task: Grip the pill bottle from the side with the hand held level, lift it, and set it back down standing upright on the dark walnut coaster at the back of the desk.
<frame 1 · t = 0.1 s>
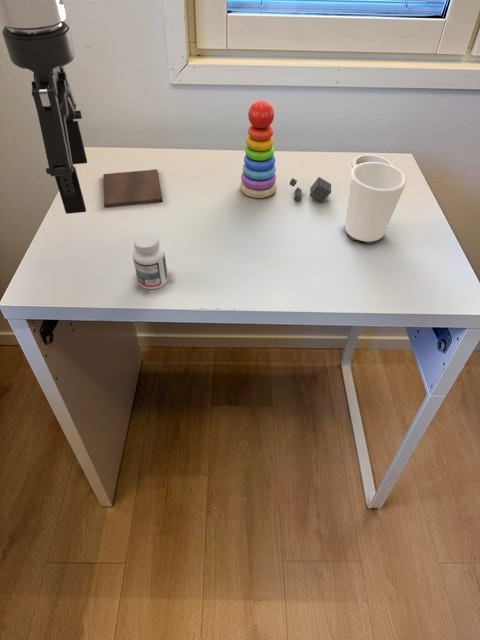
hand: (77, 185, 70), 18 cm above the table, tool pointing down, fingers open, 13 cm apart
building blocks: (308, 198, 101), on the table
coaster: (132, 189, 102), on the table
pill bottle: (153, 280, 82), on the table
cup: (363, 234, 93), on the table
stacking toy: (258, 190, 103), on the table
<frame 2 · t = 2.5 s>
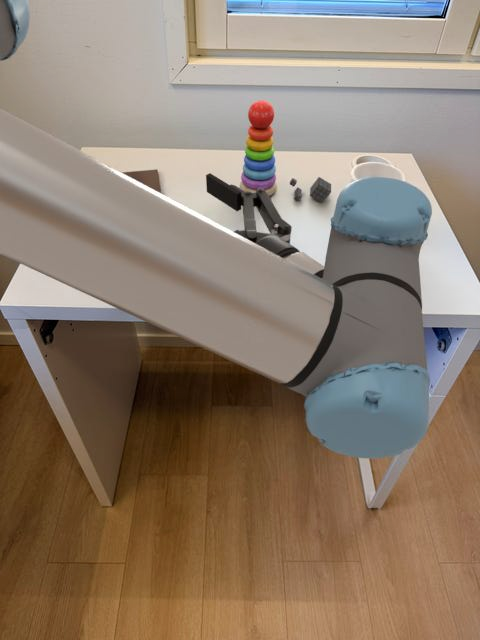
hand: (169, 200, 63), 20 cm above the table, tool horizontal, fingers open, 13 cm apart
nothing on the table moved.
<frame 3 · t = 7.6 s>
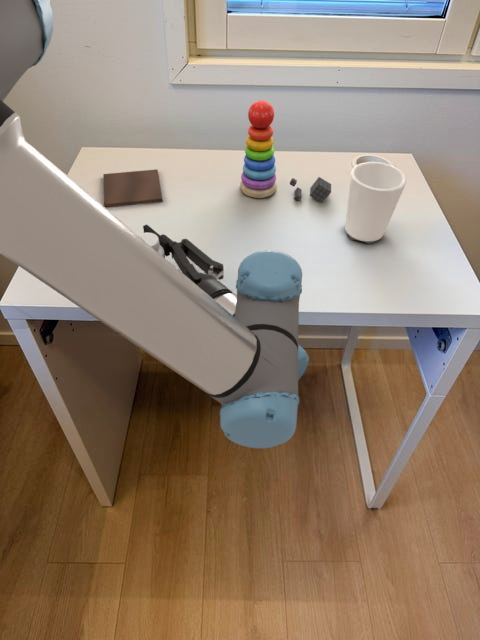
hand: (131, 238, 80), 6 cm above the table, tool horizontal, fingers closed on pill bottle, 5 cm apart
pill bottle: (153, 280, 82), on the table, touching gripper
everything else where it was.
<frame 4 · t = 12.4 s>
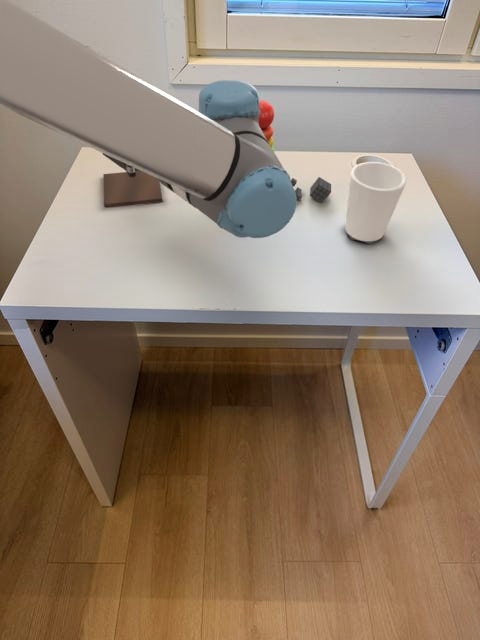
hand: (110, 120, 84), 18 cm above the table, tool horizontal, fingers closed on pill bottle, 5 cm apart
pill bottle: (131, 163, 86), point 12 cm above the table, touching gripper
everything else where it was.
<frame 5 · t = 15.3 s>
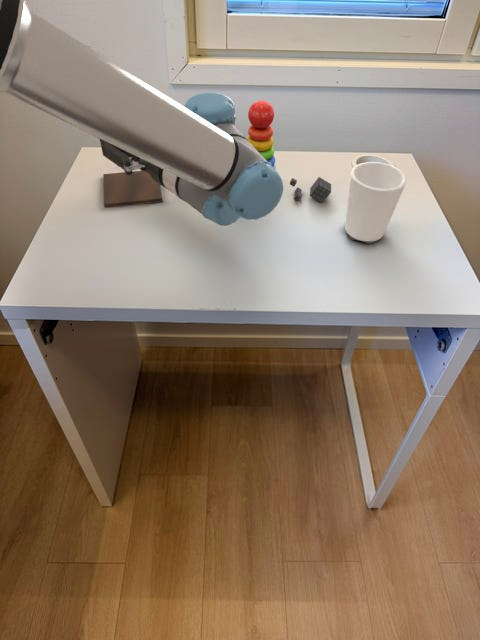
hand: (109, 125, 95), 12 cm above the table, tool horizontal, fingers closed on pill bottle, 5 cm apart
pill bottle: (128, 163, 97), point 6 cm above the table, touching gripper
everything else where it was.
when the fingers open (7 cm above the table, at t = 17.1 s): pill bottle stays where it is, resting on coaster.
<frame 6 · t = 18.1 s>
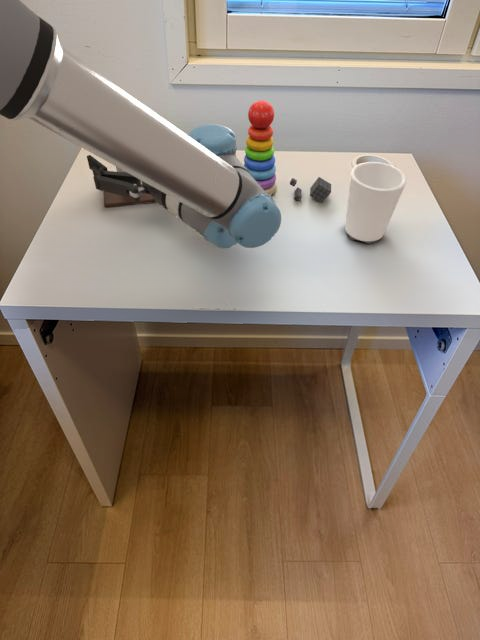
hand: (118, 151, 97), 8 cm above the table, tool horizontal, fingers open, 13 cm apart
pill bottle: (132, 186, 101), point 1 cm above the table, touching coaster
everything else where it was.
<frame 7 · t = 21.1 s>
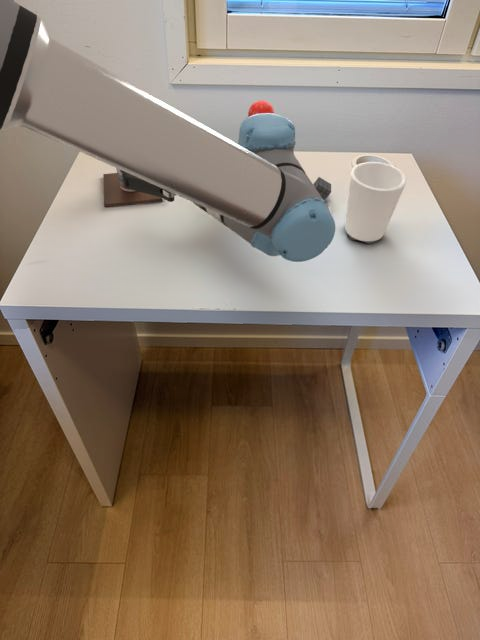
hand: (147, 145, 87), 13 cm above the table, tool horizontal, fingers open, 13 cm apart
nothing on the table moved.
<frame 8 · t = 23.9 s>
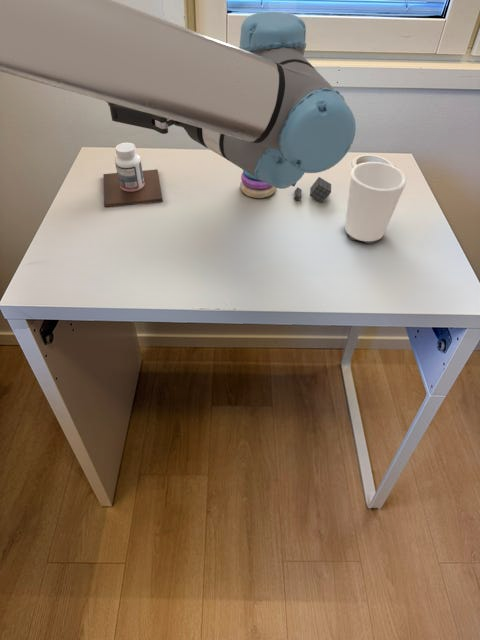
hand: (138, 80, 79), 25 cm above the table, tool horizontal, fingers open, 13 cm apart
nothing on the table moved.
at the end: pill bottle inside the target area on the coaster (0.0 cm from its centre), point 0.6 cm above the coaster's base; pill bottle tilted 0°; the gripper is holding nothing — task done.
